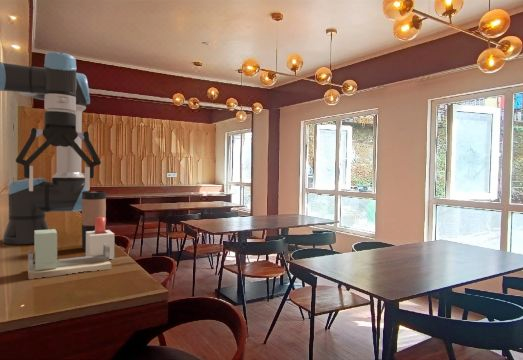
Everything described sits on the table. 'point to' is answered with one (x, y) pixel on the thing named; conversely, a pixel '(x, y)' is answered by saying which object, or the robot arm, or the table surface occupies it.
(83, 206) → the travel mug
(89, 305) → the table surface
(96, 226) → the button
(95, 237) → the hollow box
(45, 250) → the carriage
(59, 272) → the rail
